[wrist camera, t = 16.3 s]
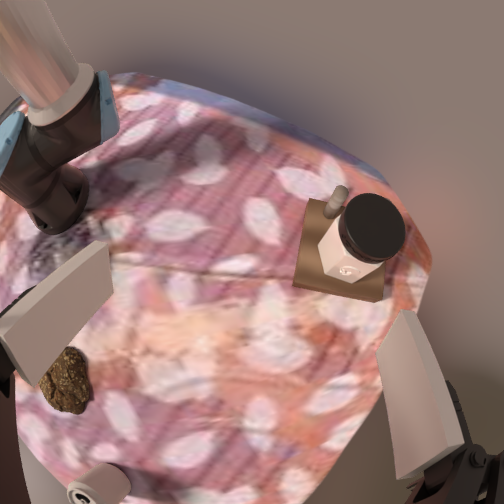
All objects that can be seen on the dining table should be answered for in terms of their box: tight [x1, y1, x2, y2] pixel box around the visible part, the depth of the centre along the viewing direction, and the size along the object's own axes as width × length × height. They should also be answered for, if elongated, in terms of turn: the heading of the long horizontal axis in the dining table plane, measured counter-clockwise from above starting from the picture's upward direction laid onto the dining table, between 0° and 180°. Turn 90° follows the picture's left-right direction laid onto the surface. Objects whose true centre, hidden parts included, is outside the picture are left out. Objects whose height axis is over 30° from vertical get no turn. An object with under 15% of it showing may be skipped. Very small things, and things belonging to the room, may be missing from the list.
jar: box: [318, 193, 405, 283], centre depth 34 cm, size 9×8×12 cm
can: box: [67, 463, 131, 504], centre depth 24 cm, size 8×8×12 cm
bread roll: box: [38, 347, 89, 415], centre depth 33 cm, size 13×12×5 cm
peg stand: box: [292, 185, 392, 303], centre depth 38 cm, size 14×14×10 cm
